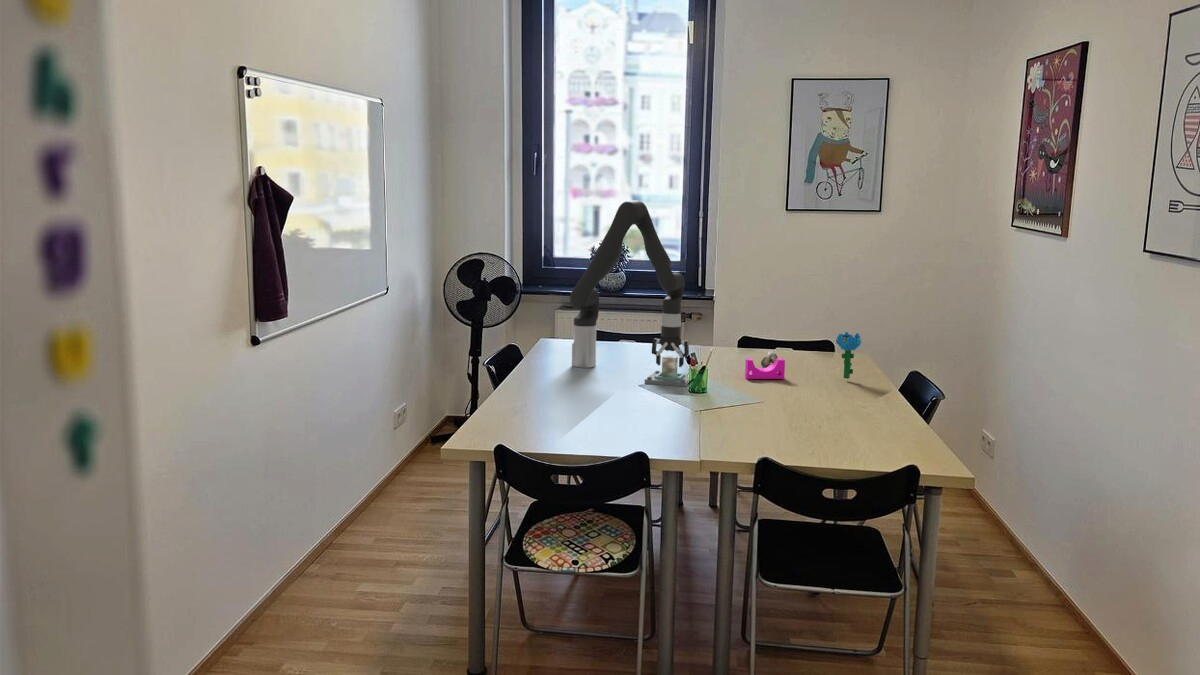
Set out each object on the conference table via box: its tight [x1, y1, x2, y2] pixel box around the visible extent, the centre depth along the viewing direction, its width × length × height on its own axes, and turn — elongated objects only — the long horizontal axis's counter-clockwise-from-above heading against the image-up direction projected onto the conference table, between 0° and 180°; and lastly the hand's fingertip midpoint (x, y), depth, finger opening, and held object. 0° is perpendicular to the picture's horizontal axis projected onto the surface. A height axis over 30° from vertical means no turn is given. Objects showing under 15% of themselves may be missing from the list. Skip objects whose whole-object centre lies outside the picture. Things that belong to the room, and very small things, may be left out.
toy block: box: [744, 358, 786, 380], centre depth 360 cm, size 15×6×8 cm, turn 94°
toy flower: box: [835, 331, 862, 380], centre depth 359 cm, size 9×9×18 cm
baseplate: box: [644, 370, 690, 387], centre depth 350 cm, size 16×16×2 cm
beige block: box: [661, 355, 679, 378], centre depth 349 cm, size 5×5×8 cm
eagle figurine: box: [760, 350, 779, 368], centre depth 382 cm, size 8×7×9 cm
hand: (669, 366), depth 349 cm, fingers open, 8 cm apart
